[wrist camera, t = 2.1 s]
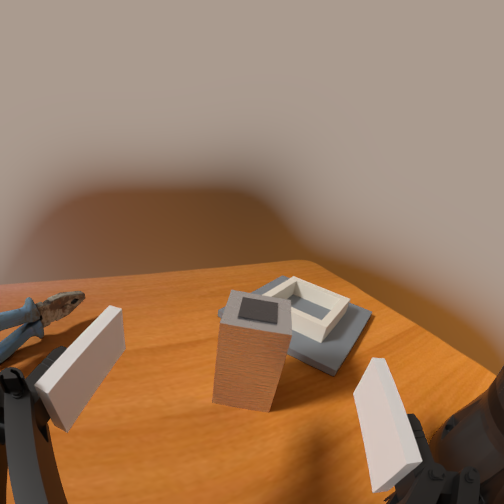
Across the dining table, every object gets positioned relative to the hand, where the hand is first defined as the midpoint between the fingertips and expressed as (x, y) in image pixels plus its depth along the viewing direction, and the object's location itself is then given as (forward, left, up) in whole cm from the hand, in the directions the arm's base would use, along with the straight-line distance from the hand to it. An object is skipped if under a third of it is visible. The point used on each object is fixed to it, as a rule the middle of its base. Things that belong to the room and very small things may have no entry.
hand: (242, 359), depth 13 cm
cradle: (-8, -26, -13) cm, 30 cm away
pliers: (+25, -6, -13) cm, 29 cm away
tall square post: (-1, -10, -13) cm, 16 cm away
